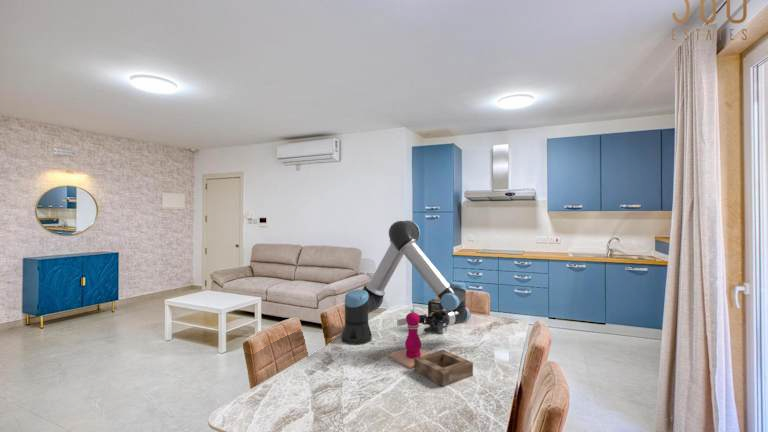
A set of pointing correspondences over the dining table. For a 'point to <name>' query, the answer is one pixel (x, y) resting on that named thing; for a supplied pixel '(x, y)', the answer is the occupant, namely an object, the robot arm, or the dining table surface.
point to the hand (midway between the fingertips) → (407, 327)
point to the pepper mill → (413, 336)
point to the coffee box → (433, 307)
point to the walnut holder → (445, 376)
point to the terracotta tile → (405, 357)
